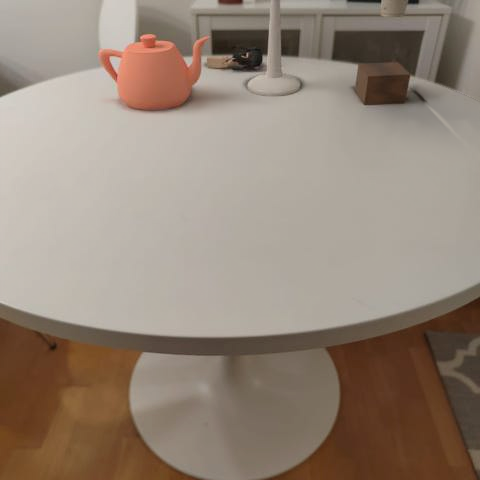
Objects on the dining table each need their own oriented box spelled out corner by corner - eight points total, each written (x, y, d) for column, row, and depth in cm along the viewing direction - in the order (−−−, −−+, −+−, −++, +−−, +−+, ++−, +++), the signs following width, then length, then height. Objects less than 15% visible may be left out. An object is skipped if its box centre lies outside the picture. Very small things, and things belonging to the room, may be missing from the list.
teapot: (216, 85, 113) (212, 24, 104) (212, 111, 100) (207, 43, 91) (116, 88, 114) (103, 27, 105) (99, 113, 101) (84, 47, 92)
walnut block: (392, 89, 107) (397, 61, 103) (404, 103, 100) (410, 74, 96) (354, 91, 107) (358, 63, 103) (364, 105, 100) (368, 76, 96)
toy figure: (206, 74, 120) (263, 70, 119) (203, 48, 117) (262, 43, 116) (209, 70, 126) (263, 65, 125) (206, 44, 123) (261, 40, 122)
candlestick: (258, 76, 117) (257, -72, 97) (306, 80, 113) (315, -72, 94) (239, 93, 108) (234, -66, 89) (291, 98, 105) (298, -67, 85)
